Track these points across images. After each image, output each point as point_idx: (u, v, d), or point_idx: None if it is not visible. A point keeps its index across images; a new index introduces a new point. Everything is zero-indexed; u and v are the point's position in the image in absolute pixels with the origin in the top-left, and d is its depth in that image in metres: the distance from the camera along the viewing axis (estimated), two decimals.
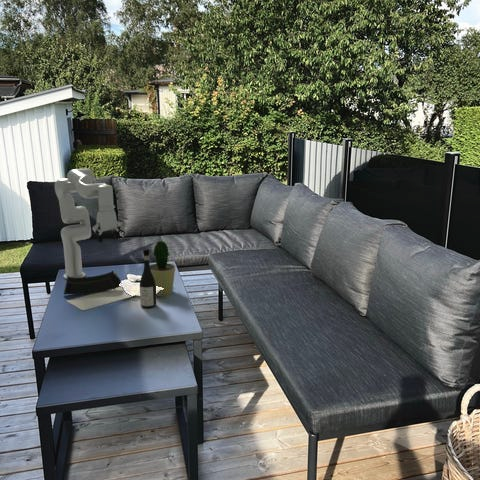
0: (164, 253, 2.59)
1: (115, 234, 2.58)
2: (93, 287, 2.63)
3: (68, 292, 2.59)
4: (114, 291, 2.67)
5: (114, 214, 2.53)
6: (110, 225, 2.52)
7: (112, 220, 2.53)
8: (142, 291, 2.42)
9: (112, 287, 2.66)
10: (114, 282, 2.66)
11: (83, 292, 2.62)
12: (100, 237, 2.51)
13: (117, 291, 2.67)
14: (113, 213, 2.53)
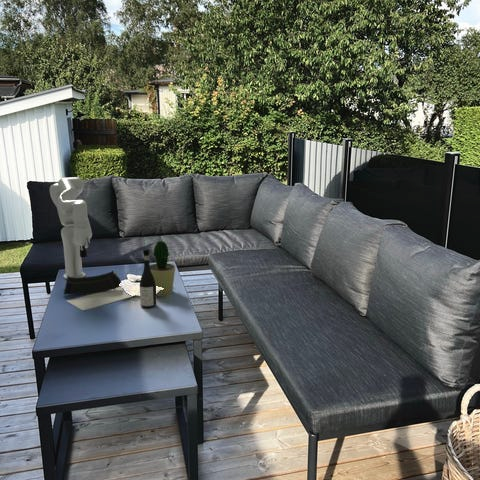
0: (164, 253, 2.59)
1: None
2: (93, 287, 2.63)
3: (68, 292, 2.59)
4: (114, 291, 2.67)
5: None
6: None
7: None
8: (142, 291, 2.42)
9: (112, 287, 2.66)
10: (114, 282, 2.66)
11: (83, 292, 2.62)
12: None
13: (117, 291, 2.67)
14: None
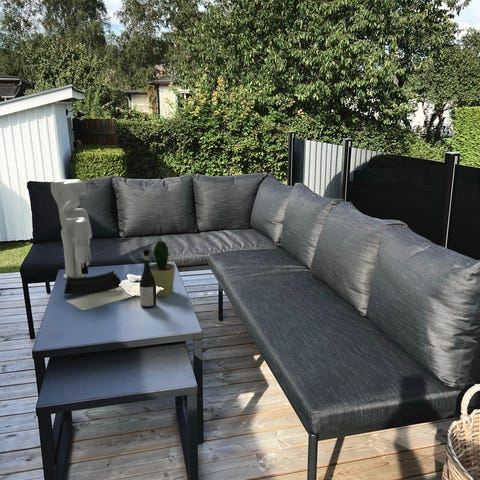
0: (164, 253, 2.59)
1: None
2: (93, 287, 2.63)
3: (68, 292, 2.59)
4: (114, 291, 2.67)
5: None
6: None
7: None
8: (142, 291, 2.42)
9: (112, 287, 2.66)
10: (114, 282, 2.66)
11: (83, 292, 2.62)
12: None
13: (117, 291, 2.67)
14: None
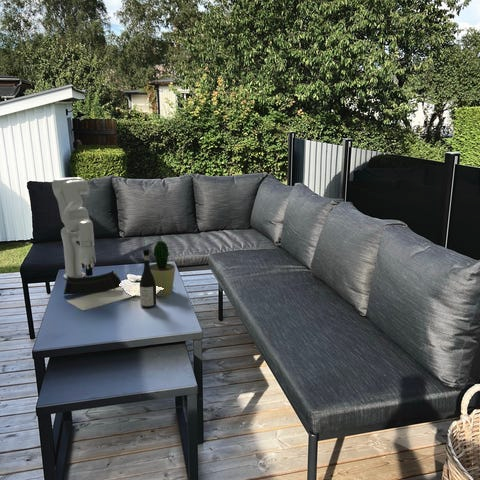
0: (164, 253, 2.59)
1: None
2: (93, 287, 2.63)
3: (68, 292, 2.59)
4: (114, 291, 2.67)
5: None
6: None
7: None
8: (142, 291, 2.42)
9: (112, 287, 2.66)
10: (114, 282, 2.66)
11: (83, 292, 2.62)
12: None
13: (117, 291, 2.67)
14: None
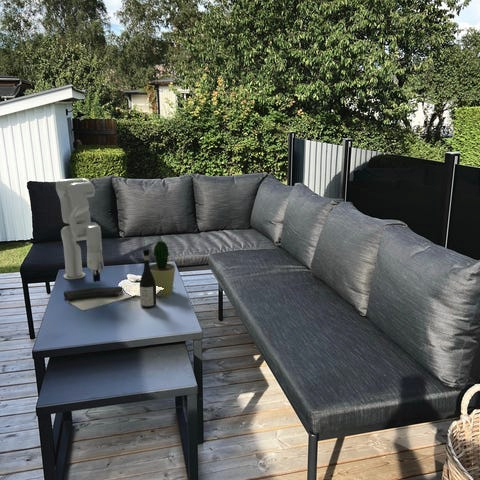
0: (164, 253, 2.59)
1: None
2: None
3: None
4: None
5: None
6: None
7: None
8: (142, 291, 2.42)
9: None
10: None
11: None
12: None
13: None
14: None
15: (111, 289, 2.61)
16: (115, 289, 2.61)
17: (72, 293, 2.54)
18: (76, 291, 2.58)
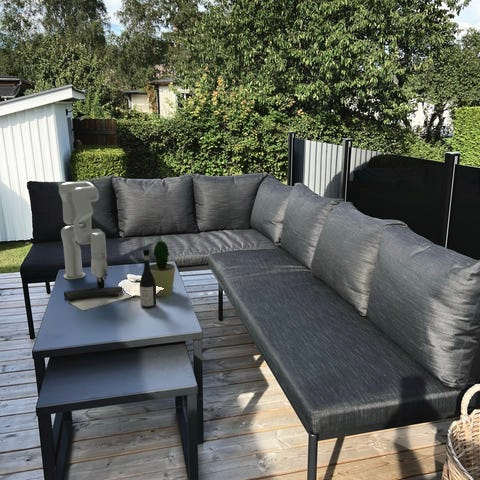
0: (164, 253, 2.59)
1: None
2: None
3: None
4: None
5: None
6: None
7: None
8: (142, 291, 2.42)
9: None
10: None
11: None
12: None
13: None
14: None
15: (111, 289, 2.61)
16: (115, 289, 2.61)
17: (72, 293, 2.54)
18: (76, 291, 2.58)
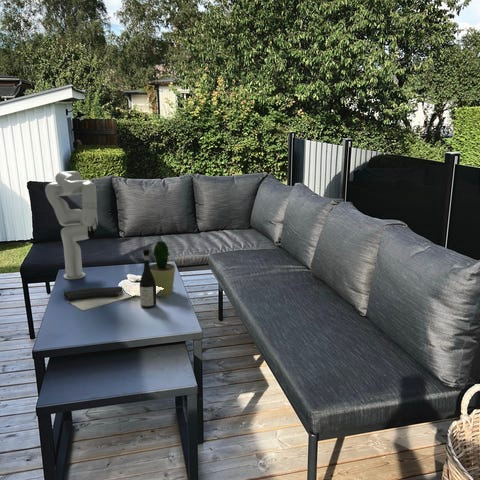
0: (164, 253, 2.59)
1: None
2: None
3: None
4: None
5: None
6: None
7: None
8: (142, 291, 2.42)
9: None
10: None
11: None
12: None
13: None
14: None
15: (111, 289, 2.61)
16: (115, 289, 2.61)
17: (72, 293, 2.54)
18: (76, 291, 2.58)
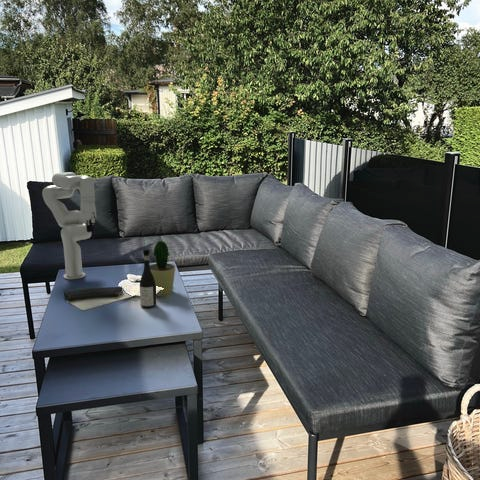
0: (164, 253, 2.59)
1: None
2: None
3: None
4: None
5: None
6: None
7: None
8: (142, 291, 2.42)
9: None
10: None
11: None
12: (91, 227, 2.69)
13: None
14: None
15: (111, 289, 2.61)
16: (115, 289, 2.61)
17: (72, 293, 2.54)
18: (76, 291, 2.58)
